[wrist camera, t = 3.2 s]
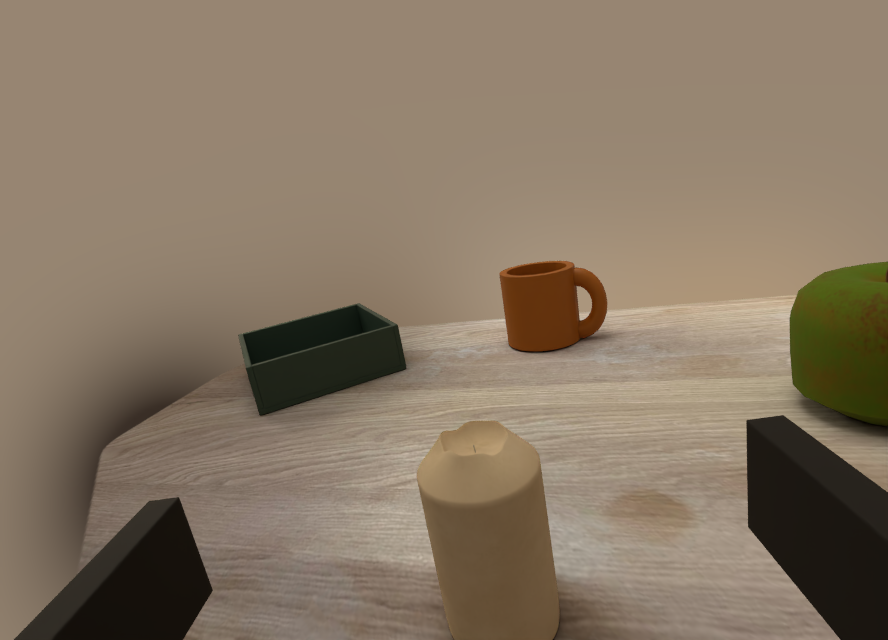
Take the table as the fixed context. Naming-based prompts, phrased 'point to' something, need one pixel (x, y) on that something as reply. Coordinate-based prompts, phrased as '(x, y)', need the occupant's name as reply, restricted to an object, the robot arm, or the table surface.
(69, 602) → the robot arm
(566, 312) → the mug
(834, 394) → the apple
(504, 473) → the candle
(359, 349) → the bin
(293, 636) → the table surface
